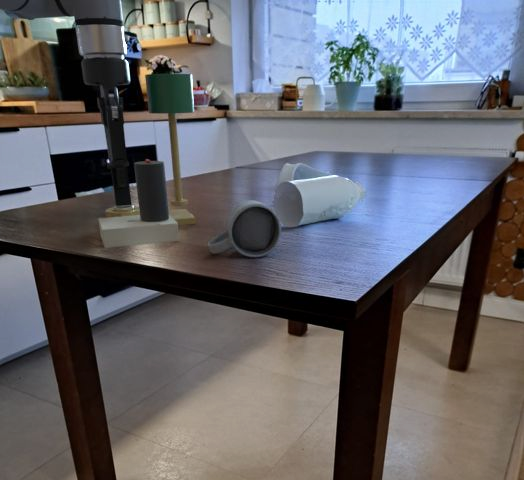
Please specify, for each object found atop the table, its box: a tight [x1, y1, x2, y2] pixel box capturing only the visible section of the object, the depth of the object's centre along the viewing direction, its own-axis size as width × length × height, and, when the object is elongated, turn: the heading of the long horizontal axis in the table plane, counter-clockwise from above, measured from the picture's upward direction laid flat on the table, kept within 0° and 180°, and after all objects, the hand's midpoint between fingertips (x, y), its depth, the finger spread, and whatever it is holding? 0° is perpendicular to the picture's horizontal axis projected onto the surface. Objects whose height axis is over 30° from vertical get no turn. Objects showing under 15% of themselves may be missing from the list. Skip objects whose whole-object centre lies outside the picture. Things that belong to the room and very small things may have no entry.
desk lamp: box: [144, 73, 195, 207], centre depth 94 cm, size 8×8×22 cm
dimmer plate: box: [97, 215, 181, 249], centre depth 87 cm, size 14×9×3 cm, turn 110°
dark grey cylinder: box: [133, 158, 169, 222], centre depth 85 cm, size 5×5×9 cm
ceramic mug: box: [207, 199, 282, 258], centre depth 78 cm, size 11×8×8 cm
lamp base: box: [105, 205, 197, 226], centre depth 98 cm, size 16×9×3 cm, turn 110°
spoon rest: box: [274, 162, 331, 194], centre depth 127 cm, size 24×12×7 cm, turn 160°
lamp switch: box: [112, 204, 134, 212], centre depth 96 cm, size 4×4×2 cm
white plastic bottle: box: [271, 174, 367, 228], centre depth 97 cm, size 8×19×8 cm, turn 128°
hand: (123, 204), depth 95 cm, fingers closed
